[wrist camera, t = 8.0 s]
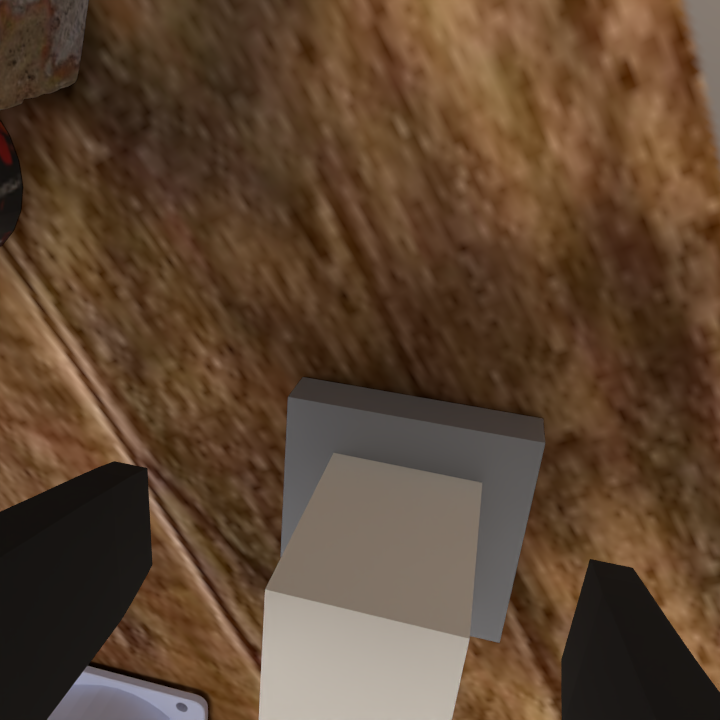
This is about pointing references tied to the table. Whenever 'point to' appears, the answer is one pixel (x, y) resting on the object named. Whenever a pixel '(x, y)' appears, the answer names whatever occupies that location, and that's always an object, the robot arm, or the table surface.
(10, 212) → the deodorant
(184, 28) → the table surface
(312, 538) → the cream block
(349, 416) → the slate base
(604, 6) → the table surface
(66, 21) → the geological specimen
